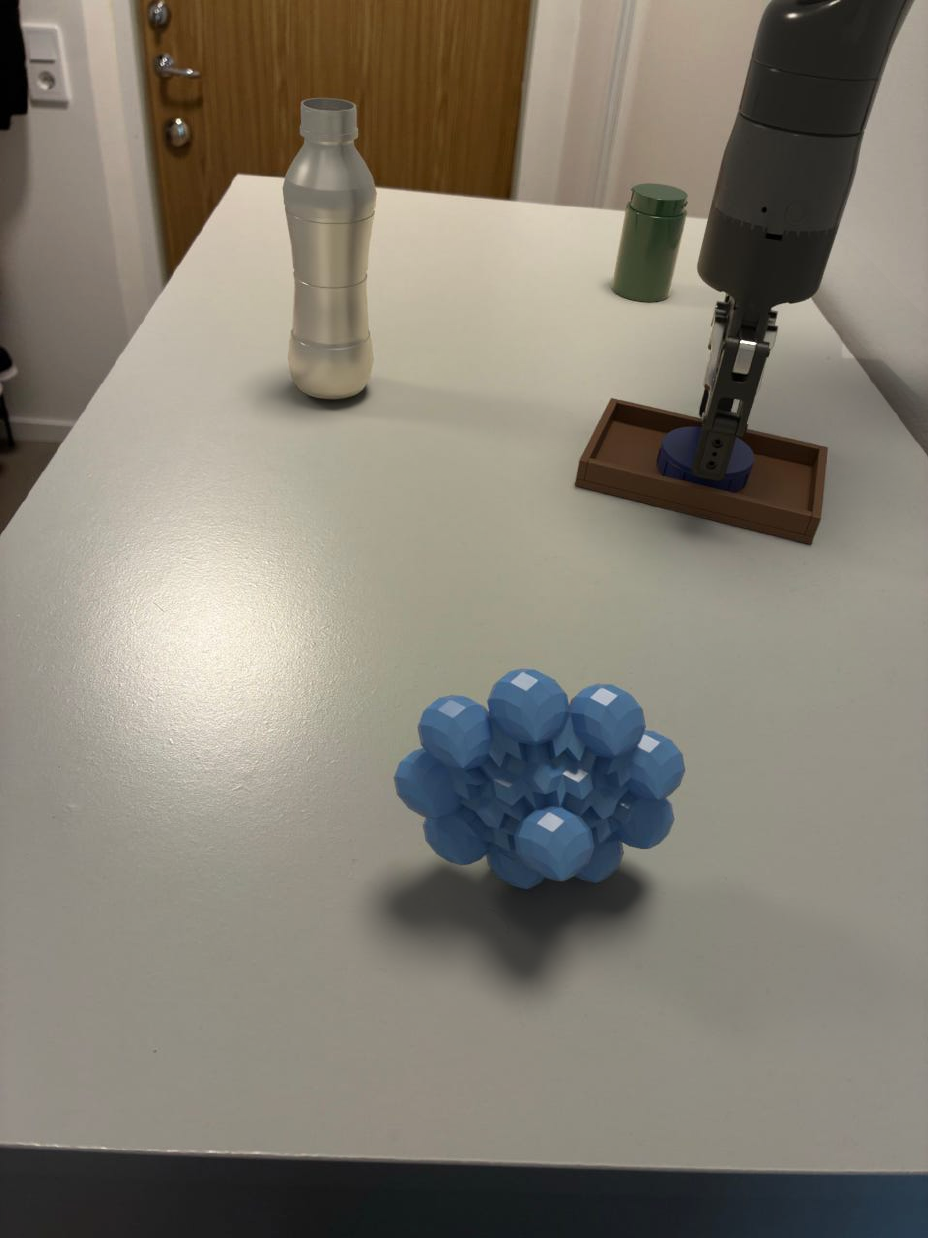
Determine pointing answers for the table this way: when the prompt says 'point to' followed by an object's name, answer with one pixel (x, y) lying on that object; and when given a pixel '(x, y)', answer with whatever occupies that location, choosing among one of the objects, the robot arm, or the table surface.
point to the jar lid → (680, 456)
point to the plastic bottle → (329, 252)
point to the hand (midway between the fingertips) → (709, 446)
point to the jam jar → (650, 242)
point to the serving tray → (769, 503)
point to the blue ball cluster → (540, 780)
